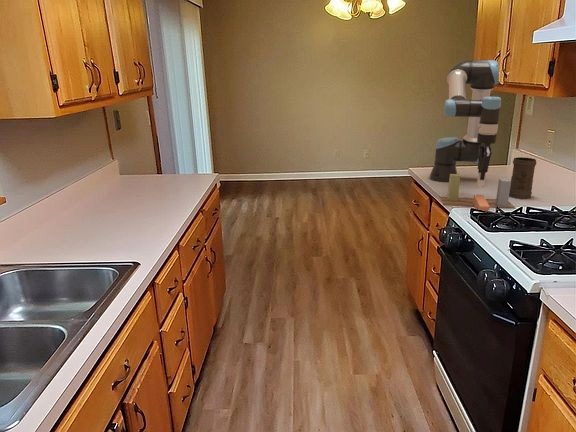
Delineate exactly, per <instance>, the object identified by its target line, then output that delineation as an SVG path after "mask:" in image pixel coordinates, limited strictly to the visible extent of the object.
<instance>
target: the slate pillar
mask: <svg viewBox="0 0 576 432" xmlns="http://www.w3.org/2000/svg"><path fill="white" fill-rule="evenodd" d="M497 183H498V184H497V192H496V197H495V199H496V204H495V205H496V206H497V207H507V205H508V201H509V198H510V197H509V192H510V186H511V179H509V178H498V182H497Z"/></svg>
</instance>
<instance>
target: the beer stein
mask: <svg viewBox="0 0 576 432" xmlns="http://www.w3.org/2000/svg"><path fill="white" fill-rule="evenodd" d="M512 165H513V168H512V175H511V176H510V177H511V178H510V181H511V186H510V192H509V198H512V199H516V200H517V199H518V200H530V199H532V194H533V192H532V191H533V190H532V189H533V182H534V176H535V167H536V165H537V159H535V158H532V157H514V158H513V159H512Z"/></svg>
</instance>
